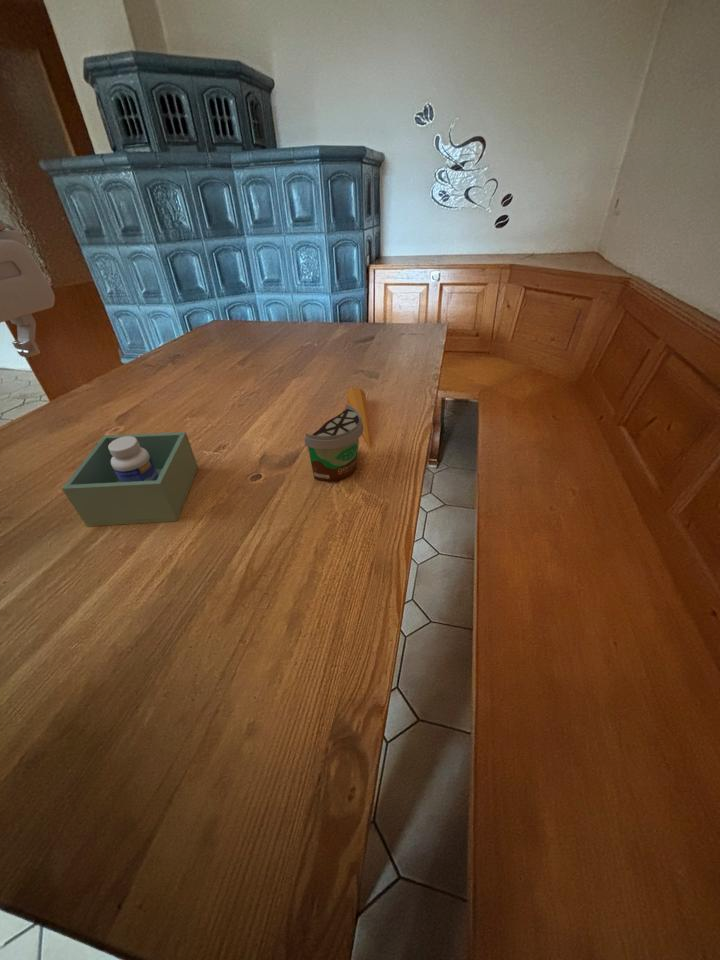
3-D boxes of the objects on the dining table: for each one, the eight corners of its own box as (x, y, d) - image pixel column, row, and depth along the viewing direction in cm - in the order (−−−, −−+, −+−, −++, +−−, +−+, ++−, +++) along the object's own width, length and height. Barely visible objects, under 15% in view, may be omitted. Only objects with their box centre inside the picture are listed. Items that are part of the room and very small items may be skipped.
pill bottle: (159, 500, 62) (136, 451, 56) (123, 504, 62) (97, 455, 55) (166, 479, 66) (146, 431, 60) (133, 482, 66) (109, 435, 59)
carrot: (349, 403, 90) (341, 388, 87) (367, 396, 89) (360, 380, 86) (364, 461, 76) (355, 445, 73) (385, 452, 75) (377, 436, 72)
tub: (177, 521, 60) (160, 483, 55) (86, 526, 59) (61, 488, 54) (198, 467, 70) (185, 431, 65) (122, 471, 69) (103, 435, 64)
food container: (337, 496, 64) (335, 447, 58) (308, 483, 67) (303, 434, 60) (375, 459, 72) (377, 412, 66) (348, 448, 75) (347, 402, 68)
